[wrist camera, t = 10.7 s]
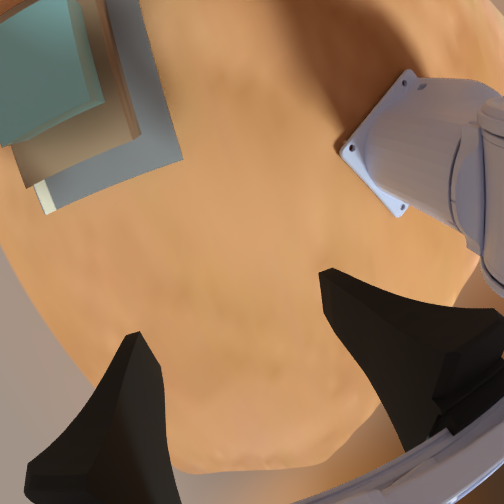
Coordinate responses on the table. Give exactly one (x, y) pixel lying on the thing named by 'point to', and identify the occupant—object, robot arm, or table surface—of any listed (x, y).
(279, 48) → the table surface
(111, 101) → the notched tan block
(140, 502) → the robot arm
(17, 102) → the teal block
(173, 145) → the book
